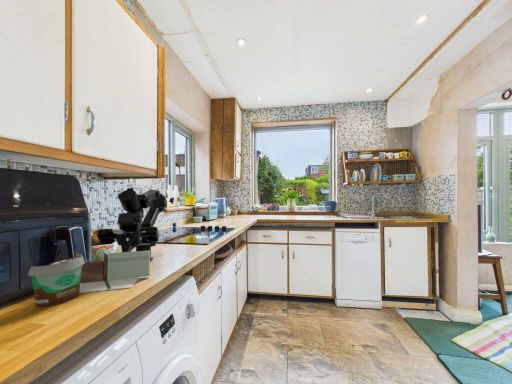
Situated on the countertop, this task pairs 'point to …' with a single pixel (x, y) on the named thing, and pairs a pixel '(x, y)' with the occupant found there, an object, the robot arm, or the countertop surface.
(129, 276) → the gate panel
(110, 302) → the countertop surface
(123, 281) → the card
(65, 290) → the food container
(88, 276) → the fixed fence
